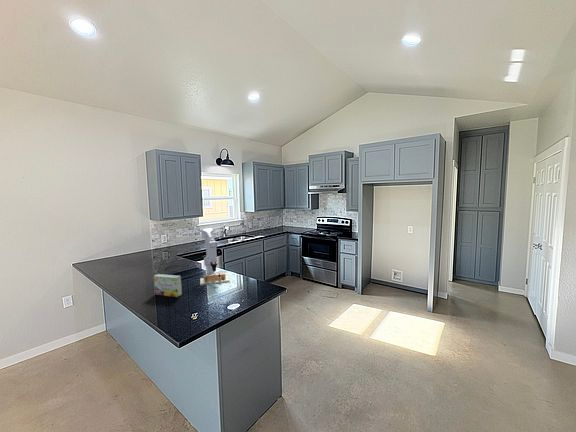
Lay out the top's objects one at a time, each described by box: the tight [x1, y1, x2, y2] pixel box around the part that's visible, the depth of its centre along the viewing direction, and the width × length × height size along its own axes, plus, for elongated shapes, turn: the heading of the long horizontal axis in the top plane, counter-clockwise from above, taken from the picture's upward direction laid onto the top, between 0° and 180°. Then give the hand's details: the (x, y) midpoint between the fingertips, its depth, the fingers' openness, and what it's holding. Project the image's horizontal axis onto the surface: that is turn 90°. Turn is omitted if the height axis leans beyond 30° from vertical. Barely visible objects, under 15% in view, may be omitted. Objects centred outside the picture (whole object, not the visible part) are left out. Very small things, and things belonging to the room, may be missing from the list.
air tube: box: [203, 272, 227, 281], centre depth 229 cm, size 18×4×4 cm, turn 108°
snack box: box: [153, 273, 183, 298], centre depth 199 cm, size 21×6×15 cm, turn 73°
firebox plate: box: [199, 274, 230, 286], centre depth 229 cm, size 16×24×5 cm, turn 108°
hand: (214, 270), depth 229 cm, fingers open, 7 cm apart
